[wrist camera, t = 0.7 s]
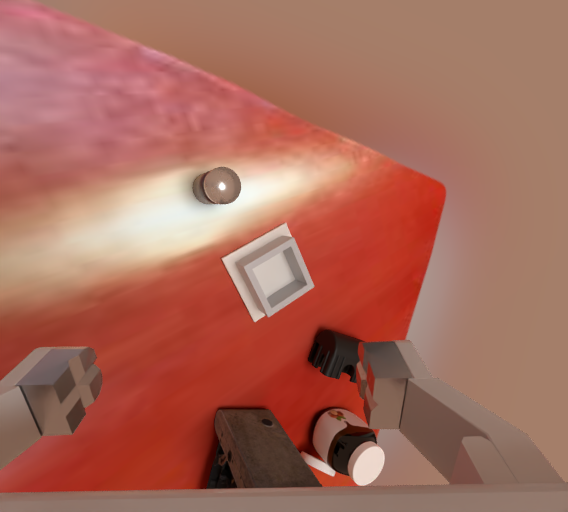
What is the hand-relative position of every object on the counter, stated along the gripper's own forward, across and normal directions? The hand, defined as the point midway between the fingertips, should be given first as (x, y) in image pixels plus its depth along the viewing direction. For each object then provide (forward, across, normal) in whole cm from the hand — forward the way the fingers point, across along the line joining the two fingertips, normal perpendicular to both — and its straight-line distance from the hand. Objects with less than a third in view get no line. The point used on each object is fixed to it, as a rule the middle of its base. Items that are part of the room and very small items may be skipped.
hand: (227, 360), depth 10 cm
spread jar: (+37, -9, +50) cm, 63 cm away
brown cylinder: (+39, +9, +2) cm, 40 cm away
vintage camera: (+30, +8, +44) cm, 54 cm away
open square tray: (+40, +1, +16) cm, 43 cm away
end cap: (+42, -10, +33) cm, 55 cm away
